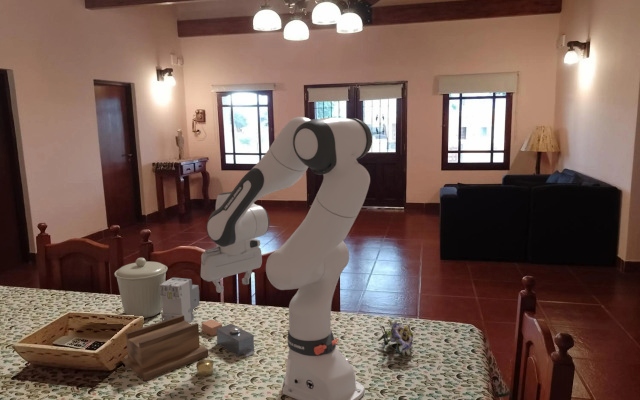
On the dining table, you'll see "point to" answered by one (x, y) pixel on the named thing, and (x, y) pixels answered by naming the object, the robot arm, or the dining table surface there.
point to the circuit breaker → (179, 298)
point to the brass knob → (204, 368)
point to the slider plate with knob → (236, 340)
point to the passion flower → (398, 337)
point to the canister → (141, 287)
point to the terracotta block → (211, 327)
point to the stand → (163, 347)
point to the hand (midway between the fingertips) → (233, 287)
